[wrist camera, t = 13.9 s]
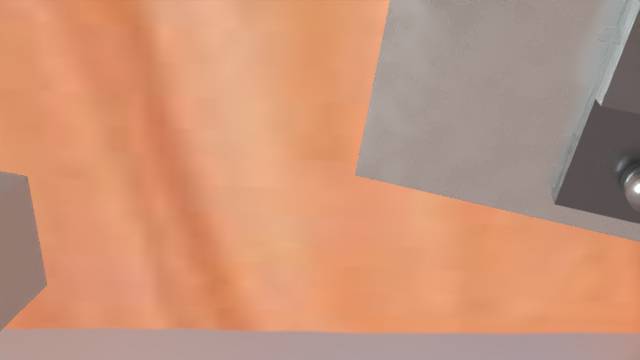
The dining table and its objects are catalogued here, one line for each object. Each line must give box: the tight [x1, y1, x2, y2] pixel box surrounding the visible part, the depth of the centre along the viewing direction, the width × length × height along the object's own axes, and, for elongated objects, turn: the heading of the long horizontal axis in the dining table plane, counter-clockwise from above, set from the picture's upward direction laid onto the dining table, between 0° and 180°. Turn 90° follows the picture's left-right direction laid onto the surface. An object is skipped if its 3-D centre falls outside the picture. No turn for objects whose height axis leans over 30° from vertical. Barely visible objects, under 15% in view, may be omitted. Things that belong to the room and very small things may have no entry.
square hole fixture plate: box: [355, 0, 640, 242], centre depth 33 cm, size 28×27×6 cm
